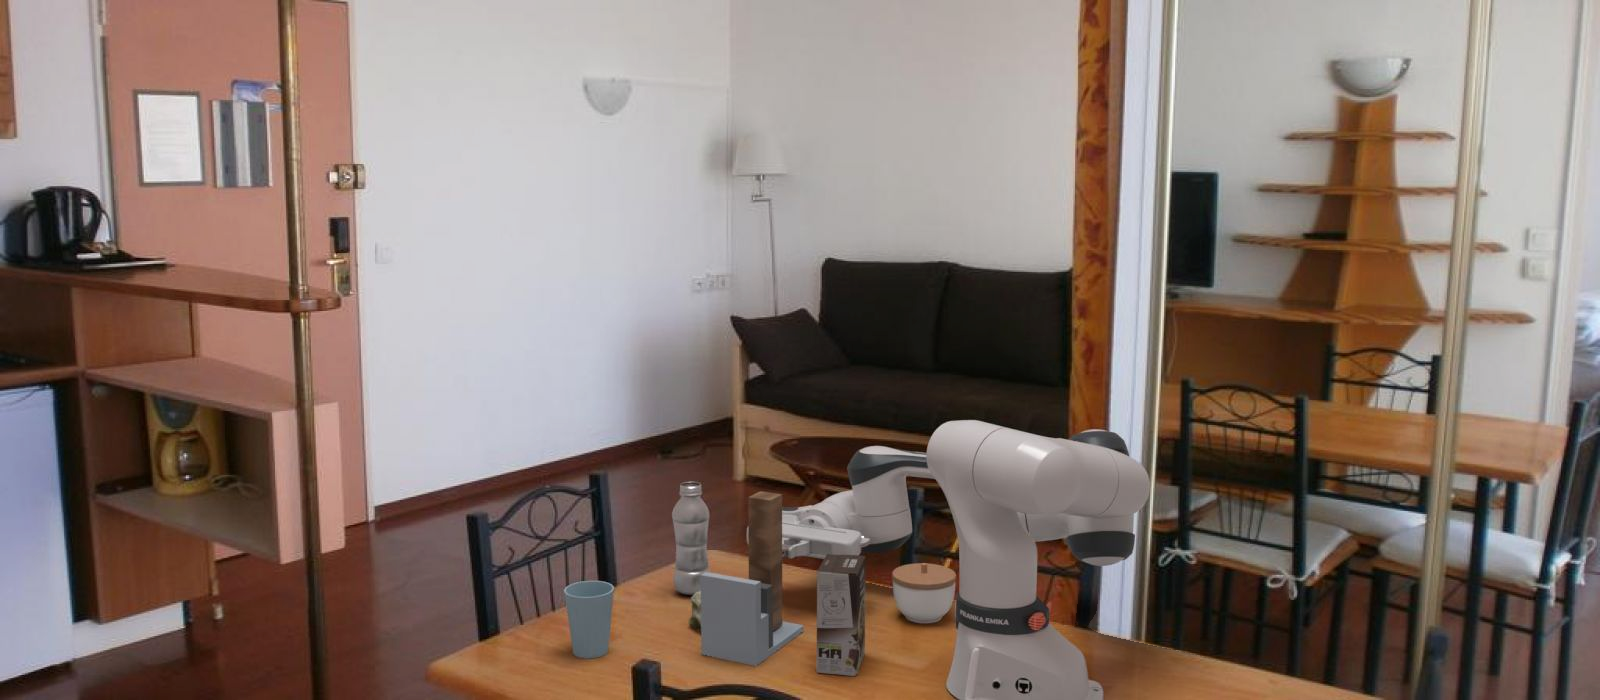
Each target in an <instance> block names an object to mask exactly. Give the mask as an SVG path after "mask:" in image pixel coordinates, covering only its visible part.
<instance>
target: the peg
mask: <svg viewBox="0 0 1600 700" xmlns="http://www.w3.org/2000/svg"><path fill="white" fill-rule="evenodd" d="M747 502H748V503H747V505H748V506H747V507H748V508H747V509H748V510H747V511H748V512H747V513H748V514H747V515H748V516H747V517H748V518H747V522H748V525H747V527H748V541H749V546H748V579H749V580H755V581H760V582H761V583H764V584H769V585H773V631H774V630H776V629H777V628H778V627H780V626H781V625H782V621H783V557H782V508H783V493H782V494H781V493H775V492H768V491H758V492H756V493H753V494H752V495H750V496H748V497H747Z"/></svg>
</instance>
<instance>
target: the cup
mask: <svg viewBox="0 0 1600 700" xmlns="http://www.w3.org/2000/svg"><path fill="white" fill-rule="evenodd" d="M614 590H615V586H614V585H613V584H611V583H610V582H606V581H601V580H583V581H578V582H573V583H571V584H569V585H567V586H566V587H565V588H564V589H563V594H564V601H565V604H566V605H565V608H566V612H567V613H566V614H567V620H568V627H569V632H570V633H569V634H570V641H571V648H572V655H574V656H575V657H577V658H579V659H596V658H601V657H603V656H605V655H607V654H608V653H609V649H610V648H609V646H610V635H611V625H612V624H611V623H612V614H613V613H612V612H613V601H614V593H615V592H614Z"/></svg>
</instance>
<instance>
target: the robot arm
mask: <svg viewBox="0 0 1600 700" xmlns="http://www.w3.org/2000/svg"><path fill="white" fill-rule="evenodd" d="M846 469H847V474H848V478H849V483H850V485H851V489H850V490H845V491H841V492H837V493H834V494H832V495H830V496H829V497H827V498H825V499H824V500H822V501H821V502H818V503H816V504H814V505H812V504H811V505H805V506H797V507H796V506H795V507H791V506H790V507H784V506H783V507H782V558H785V559H794V558H795V557H803V556H804V557H810V558H817V559H822V560H824V558H825V557H826V555H827V554H832V555H861V552H862V553H866V554H882V553H887V552H892V551H894V550H896V549H898V548H900V547H901V546H903V545H904V544H905V543H906V542H907V541H908V540H909V539H910V537H911V536H912V534H913V524H912V517H911V516H912V515H911V508H910V503H909V496H908V488H907V479H906V478H907V477H913V478H914V477H915V478H923V479H924V478H925V479H932V480H933V479H934V480H936V482H937V484H938V485H939V486H940V488H941V490H942V492H943V494H944V496H945V498H946V500H947V503H948V507H949V509H950V511H951V515H952V519H953V521H954V526H955V530H956V535H957V542H958V552H959V554H958V558H959V563H958V564H959V584H958V586H959V589H958V590H959V591H957V592H956V597H955V598H956V599H955V605H954V606H955V608H954V620H955V629H956V637H955V638H956V639H955V647H954V652H953V659H952V662H951V665H950V670H949V673H948V676H947V679H946V683H945V686H946V689H947V690H948V692H949V693H950V695H953V697H955V698H956V699H958V700H1104V697H1105V696H1104V689H1103V687H1102V685H1101V684H1100V683H1099V682H1098V681H1096V680H1093V679H1092V680H1091V679H1089V674H1088V668H1087V661H1086V658H1085V656H1084V653H1083V652H1082V651H1081V650H1080V649H1079V648H1078V647H1077V646H1076V645H1075V644H1073V643H1072V642H1071V641H1069V639H1067V638H1066V637H1065V636H1064V635H1062V634H1061V633H1060V632H1059V631H1058V630H1056V628H1055V627H1054V626H1052V625H1051V624H1050V612H1051V610H1052V601H1049V602H1048V603H1047V604H1045V603H1044V601H1043V600H1041V599H1040V597H1039V596H1038V595H1037V583H1038V582H1037V580H1038V579H1037V576H1038V575H1037V574H1038V548H1037V544H1036V542H1046V541H1053V540H1059V539H1064V540H1063V543H1064V546H1068V548H1069V551H1070V552H1071V554H1072V556H1074V557H1075V558H1076V559H1077V560H1078V561H1079V562H1083V563H1087V564H1088V565H1089V564H1090V565H1092V566H1097V567H1108V566H1112V565H1116V564H1118V563H1120V562H1121V561H1124V560H1125V561H1126V560H1127V559H1128V558H1129V557H1130V556H1132V555H1133V552H1134V549H1135V541H1136V534H1134V523H1135V522H1134V520H1135V519H1134V518H1135V514H1136V513H1137V512H1138V511H1140V510H1142V508H1143V507H1144V506H1145V505H1146V503H1147V501H1148V499H1149V495H1150V491H1151V483H1150V481H1151V480H1150V477H1149V474H1148V472H1147V470H1146V469H1145V467H1144V466H1143V465H1142V464H1141V463H1140V462H1139V461H1137V459H1134V458H1133V457H1131V456H1130V453H1129V450H1128V446H1127V444H1126V441H1125V440H1124V439H1123V438H1122V437H1121V436H1120V435H1119V434H1118V433H1116V432H1113V431H1109V430H1105V429H1098V428H1097V429H1096V428H1095V429H1094V428H1093V429H1086V430H1084V431H1081V432H1079V433H1075V434H1072V436H1070V437H1069V438H1068V439H1065V438H1061V437H1058V438H1055V437H1048V436H1043V435H1038V434H1035V433H1030V432H1026V431H1022V430H1018V429H1013V428H1010V427H1005V426H1001V425H997V424H994V423H989V422H985V421H982V420H976V419H967V420H966V419H963V420H962V419H960V420H950V421H946V422H944V423H942V424H940V425H939V426H938V427H937V428H936V429H935V430H934V432H933V433H932V435H931V437H930V439H929V441H928V444H927V448H926V452H923V451H911V450H905V449H900V448H895V447H894V448H893V447H888V446H884V445H883V446H882V445H873V446H872V445H871V446H865V447H863V448H860V449H858V450H857V451H856V452H855V453H854V455H853V456H852V457H851V459H850V461H849V463H848V465H847V466H846ZM746 543H747V545H748V546H747V547H749V541H748V526H747V528H746Z"/></svg>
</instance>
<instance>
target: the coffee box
mask: <svg viewBox="0 0 1600 700" xmlns="http://www.w3.org/2000/svg"><path fill="white" fill-rule="evenodd" d="M866 557H867V556H866V555H861V554H859V555H832V554H827V555H826V557H825V558H824V559H822V560H823V561H821V564H819V565H820V566H819V567H818V570H817V571H816V573H817V575H816V577H817V579H816V664H815V665H816V670H815V671H816V673H817V674H818V673H819V674H829V675H839V676H849V677H855V676H857V674H858V671H859V669H860V666H861V665H862V662H863V659H864V656H865V654H866V560H867V558H866Z"/></svg>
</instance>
